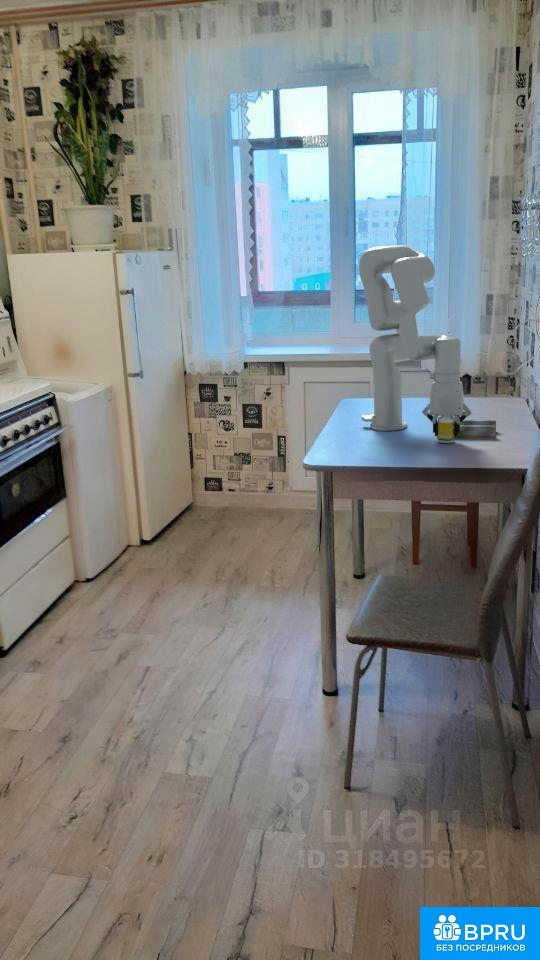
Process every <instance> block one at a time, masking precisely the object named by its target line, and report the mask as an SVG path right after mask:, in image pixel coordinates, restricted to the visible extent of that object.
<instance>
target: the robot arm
mask: <svg viewBox="0 0 540 960" xmlns="http://www.w3.org/2000/svg"><path fill="white" fill-rule="evenodd" d="M360 256H361V257H360V260H359V265H358V273H359V277H360V281H361V283H362V286H363V289H364V292H365V293H364V294H365V300H366V301H365V302H366V308H367V313H368V319H369V320H368V321H369V323H370V327H371V329H372V330H373V331H376V332H386V331H396V333H390V334H383V335H379V336H377V337H375V338H374V339H372V340H371V342H370V344H369V355H370V360H371V366H372V376H373V377H372V378H373V379H372V380H373V384H372V385H373V412H374V413H373V414H371V415H368V414H367V415H362V417H361V421H362V422H366V423H368V422H369V423H370V424H369V427H370V429H371V428H372V430H374V431H382V432H390V431H391V432H392V431H401V430H403V429H406V428H407V426H408V424H407V422H406V421H404V420H403V398H402V397H403V395H402V394H403V392H402V390H403V386H402V384H403V383H402V382H403V381H402V374H401V371H400V369H399V368H398V365H397V364H396V363H399V362H405V361H412V362H423V361H427V360H434V373H431V374H429V379H432V380H434V381H432V382H431V387H430V394H429V395H430V396H429V403H428V404H427V405H426V406H425V407H424V408H423V410H421V413H422V414H423V416H425V417H427V419H428V420H429V421H430V422H431V423H432V433H434V437H437V434H438V418H439V417H441V416H453V417H454V418H455V420H456V423H455V437H457V435H458V433H460V423H461V422H462V421H463V420H466V418H468V417H469V416H470V415H472V413H473V411H472V410H471V409H470V408H469V406H467V405H466V403H465V397H464V387H463V382H462V381H461V347H462V346H461V344H462V343H461V340H460V339H459V338H458V337H456V336H446V335H444V334H442V333H434V334H433V333H432V334H426V335H424V334H423V335H419V333H418V331H419V330H418V325H417V324H418V323H417V317H416V315H417V314H418V313H420V312H421V311H423V309H425V308H427V307H428V305H429V303H430V298H429V294H428V293H427V292H428V291H427V288H426V286H425V284H427V283H429V282H431V281H432V280H433V279H434V277H435V274H436V273H435V272H436V269H435V265H434V263H433V261H432V260H431V259H430V258H429V256H427V255H426V254H424V253H422V252H420V251H418V250H416V249H415V248H412V247H410V246H408V245H390V246H388V245H386V246H376V247H372V248H369V249H367V250H365V251H364V252H363V254H362V255H360ZM383 274H390V275H391V277H392V280H393V283H394V286H395V289H396V292H397V295H398V298H399V300H394V299H393V296H392V289H391V285H390V284H389V283H388V280H387V279H386V278H385V277H384V276H383ZM464 412H465V413H464Z"/></svg>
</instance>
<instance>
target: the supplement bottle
mask: <svg viewBox="0 0 540 960" xmlns="http://www.w3.org/2000/svg"><path fill="white" fill-rule="evenodd" d="M437 422H438V434H437V436H436V438H437V441H438V442H439V443H447V444H448V443H450V444H451V443H454V442H455V441H456V438H455V417H454V416H438V418H437Z"/></svg>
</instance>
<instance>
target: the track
mask: <svg viewBox="0 0 540 960" xmlns="http://www.w3.org/2000/svg"><path fill="white" fill-rule="evenodd" d="M455 423H456V420H455ZM496 435H497V420H496V419H464V420H463V421H462V422H461V423H460V433H458V435H457V437H455V439H456V438H457V439H458V438H460V439H462V438H463V439H466V438H467V439H496Z"/></svg>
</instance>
